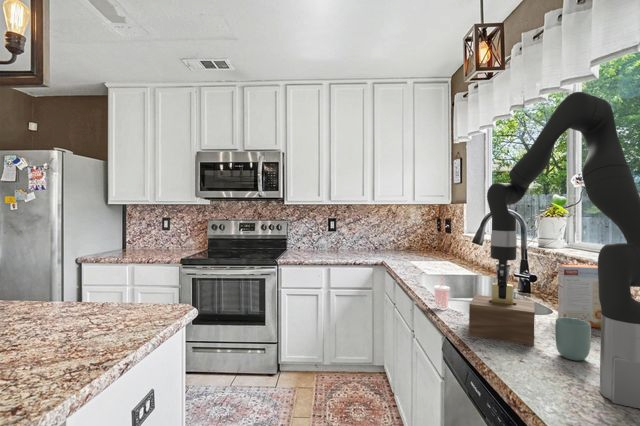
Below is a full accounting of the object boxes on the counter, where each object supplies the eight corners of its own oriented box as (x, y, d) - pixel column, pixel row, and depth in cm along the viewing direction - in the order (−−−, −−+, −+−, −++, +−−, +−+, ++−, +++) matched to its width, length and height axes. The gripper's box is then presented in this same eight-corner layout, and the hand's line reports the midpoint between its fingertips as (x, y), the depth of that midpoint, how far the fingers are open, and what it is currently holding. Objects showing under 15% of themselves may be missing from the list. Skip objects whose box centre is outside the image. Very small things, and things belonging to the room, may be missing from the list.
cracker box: (601, 324, 131) (602, 265, 130) (610, 329, 125) (611, 267, 125) (556, 320, 134) (557, 263, 134) (563, 325, 128) (564, 265, 128)
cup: (574, 365, 96) (575, 326, 96) (548, 353, 103) (549, 318, 103) (597, 362, 98) (598, 324, 98) (570, 351, 105) (570, 316, 105)
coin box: (534, 346, 109) (534, 312, 109) (468, 335, 118) (469, 303, 118) (533, 331, 122) (534, 301, 122) (475, 322, 131) (475, 294, 131)
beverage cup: (441, 312, 144) (442, 276, 144) (430, 308, 149) (430, 273, 149) (452, 310, 147) (453, 275, 147) (441, 306, 152) (441, 272, 152)
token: (512, 305, 117) (513, 286, 117) (491, 302, 120) (492, 284, 120) (512, 303, 119) (513, 284, 119) (492, 300, 122) (492, 282, 122)
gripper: (515, 247, 111) (514, 304, 112) (517, 243, 124) (516, 294, 124) (488, 245, 115) (487, 300, 115) (492, 242, 127) (491, 292, 127)
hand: (502, 297), depth 120 cm, fingers closed on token, 2 cm apart
